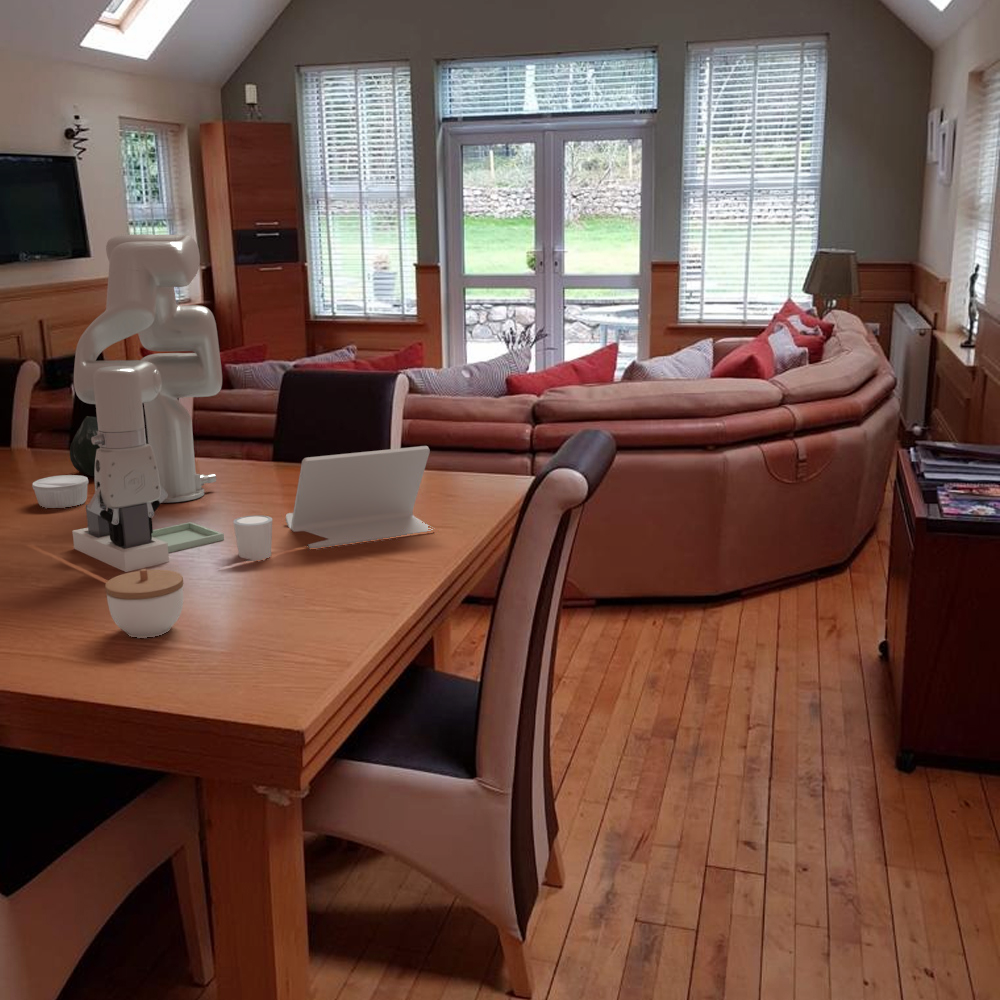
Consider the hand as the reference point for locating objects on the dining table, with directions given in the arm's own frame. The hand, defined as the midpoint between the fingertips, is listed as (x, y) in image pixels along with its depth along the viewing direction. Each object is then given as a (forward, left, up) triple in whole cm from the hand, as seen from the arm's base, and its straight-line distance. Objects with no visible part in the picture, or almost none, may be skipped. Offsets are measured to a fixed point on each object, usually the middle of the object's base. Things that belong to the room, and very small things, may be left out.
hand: (132, 540), depth 183 cm
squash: (-30, -74, -5) cm, 80 cm away
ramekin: (-10, -52, -5) cm, 53 cm away
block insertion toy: (0, -5, -4) cm, 6 cm away
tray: (-12, -6, -4) cm, 14 cm away
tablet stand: (-41, +11, -5) cm, 43 cm away
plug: (0, 0, -1) cm, 1 cm away
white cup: (-17, +12, -5) cm, 21 cm away
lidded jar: (+14, +32, -5) cm, 35 cm away
